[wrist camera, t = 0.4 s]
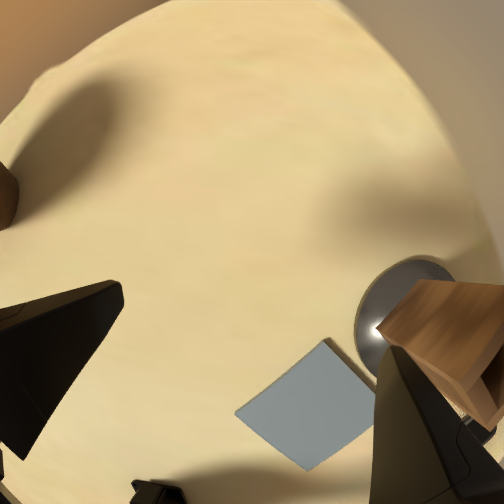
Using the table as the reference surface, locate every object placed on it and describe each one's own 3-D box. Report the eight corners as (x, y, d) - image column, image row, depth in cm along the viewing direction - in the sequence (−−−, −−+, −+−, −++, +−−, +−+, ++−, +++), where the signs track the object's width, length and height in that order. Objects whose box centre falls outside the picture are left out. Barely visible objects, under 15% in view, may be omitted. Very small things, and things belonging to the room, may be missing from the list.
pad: (306, 467, 21) (307, 471, 21) (235, 411, 22) (234, 414, 21) (388, 406, 21) (390, 409, 20) (322, 339, 22) (323, 341, 21)
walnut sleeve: (410, 369, 20) (490, 432, 8) (375, 328, 20) (458, 381, 8) (451, 322, 20) (545, 352, 8) (419, 278, 20) (522, 286, 8)
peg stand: (398, 401, 21) (415, 421, 17) (327, 327, 22) (337, 339, 18) (472, 317, 20) (497, 323, 16) (414, 233, 21) (437, 228, 17)
